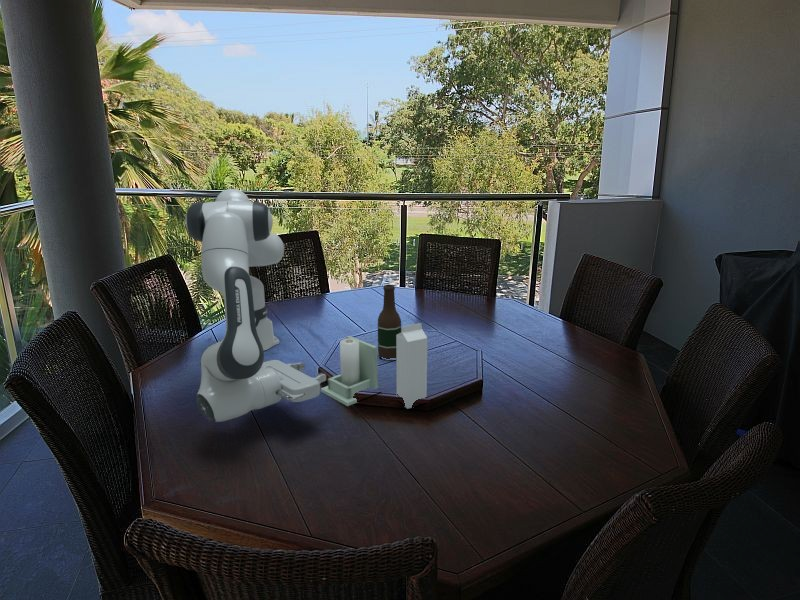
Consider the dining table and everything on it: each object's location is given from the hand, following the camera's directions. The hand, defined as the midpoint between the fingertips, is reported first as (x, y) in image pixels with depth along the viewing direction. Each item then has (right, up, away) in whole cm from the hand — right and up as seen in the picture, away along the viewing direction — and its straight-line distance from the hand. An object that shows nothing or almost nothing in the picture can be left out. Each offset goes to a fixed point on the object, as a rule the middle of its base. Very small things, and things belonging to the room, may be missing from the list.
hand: (313, 370), depth 140 cm
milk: (+25, -9, +5) cm, 28 cm away
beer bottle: (+19, 0, +36) cm, 40 cm away
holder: (+9, -7, +11) cm, 16 cm away
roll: (+9, -6, +11) cm, 15 cm away
